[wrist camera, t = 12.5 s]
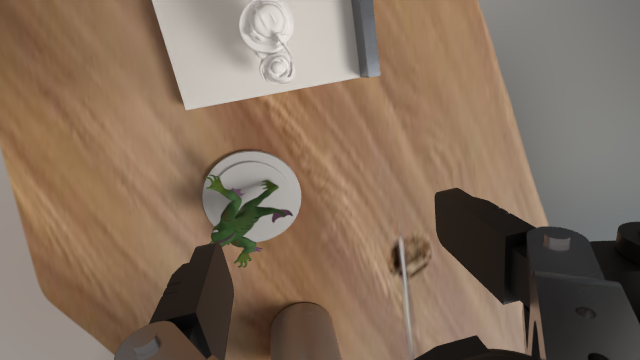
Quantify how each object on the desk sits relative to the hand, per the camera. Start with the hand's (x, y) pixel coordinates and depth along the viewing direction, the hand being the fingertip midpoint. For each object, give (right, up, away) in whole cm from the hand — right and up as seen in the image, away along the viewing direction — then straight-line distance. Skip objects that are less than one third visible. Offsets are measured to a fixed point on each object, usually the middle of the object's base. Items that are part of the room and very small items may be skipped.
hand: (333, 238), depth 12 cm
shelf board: (-6, +18, +23) cm, 30 cm away
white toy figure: (-6, +17, +21) cm, 27 cm away
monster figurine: (-9, 0, +29) cm, 30 cm away
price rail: (+4, +19, +21) cm, 28 cm away
